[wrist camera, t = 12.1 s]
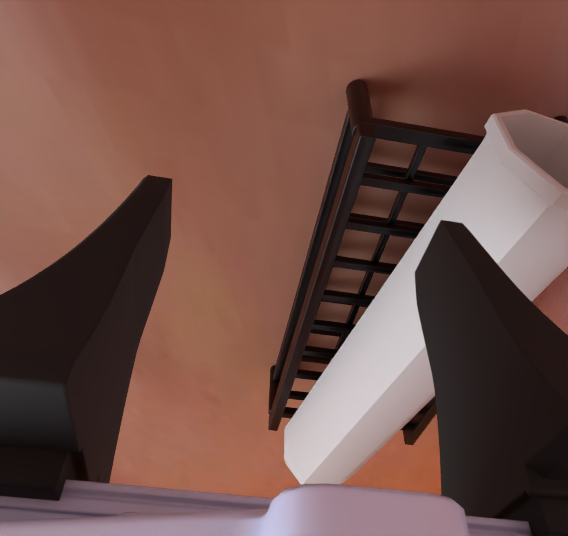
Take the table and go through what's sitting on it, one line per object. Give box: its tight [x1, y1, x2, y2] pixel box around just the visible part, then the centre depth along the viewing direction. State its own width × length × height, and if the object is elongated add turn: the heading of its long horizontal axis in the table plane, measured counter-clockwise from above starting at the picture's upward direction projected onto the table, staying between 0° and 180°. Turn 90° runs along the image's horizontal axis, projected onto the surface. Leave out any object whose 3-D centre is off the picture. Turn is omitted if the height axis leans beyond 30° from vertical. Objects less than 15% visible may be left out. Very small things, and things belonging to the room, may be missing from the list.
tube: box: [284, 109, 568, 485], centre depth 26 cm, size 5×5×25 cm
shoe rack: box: [268, 80, 568, 445], centre depth 29 cm, size 10×22×4 cm, turn 170°
